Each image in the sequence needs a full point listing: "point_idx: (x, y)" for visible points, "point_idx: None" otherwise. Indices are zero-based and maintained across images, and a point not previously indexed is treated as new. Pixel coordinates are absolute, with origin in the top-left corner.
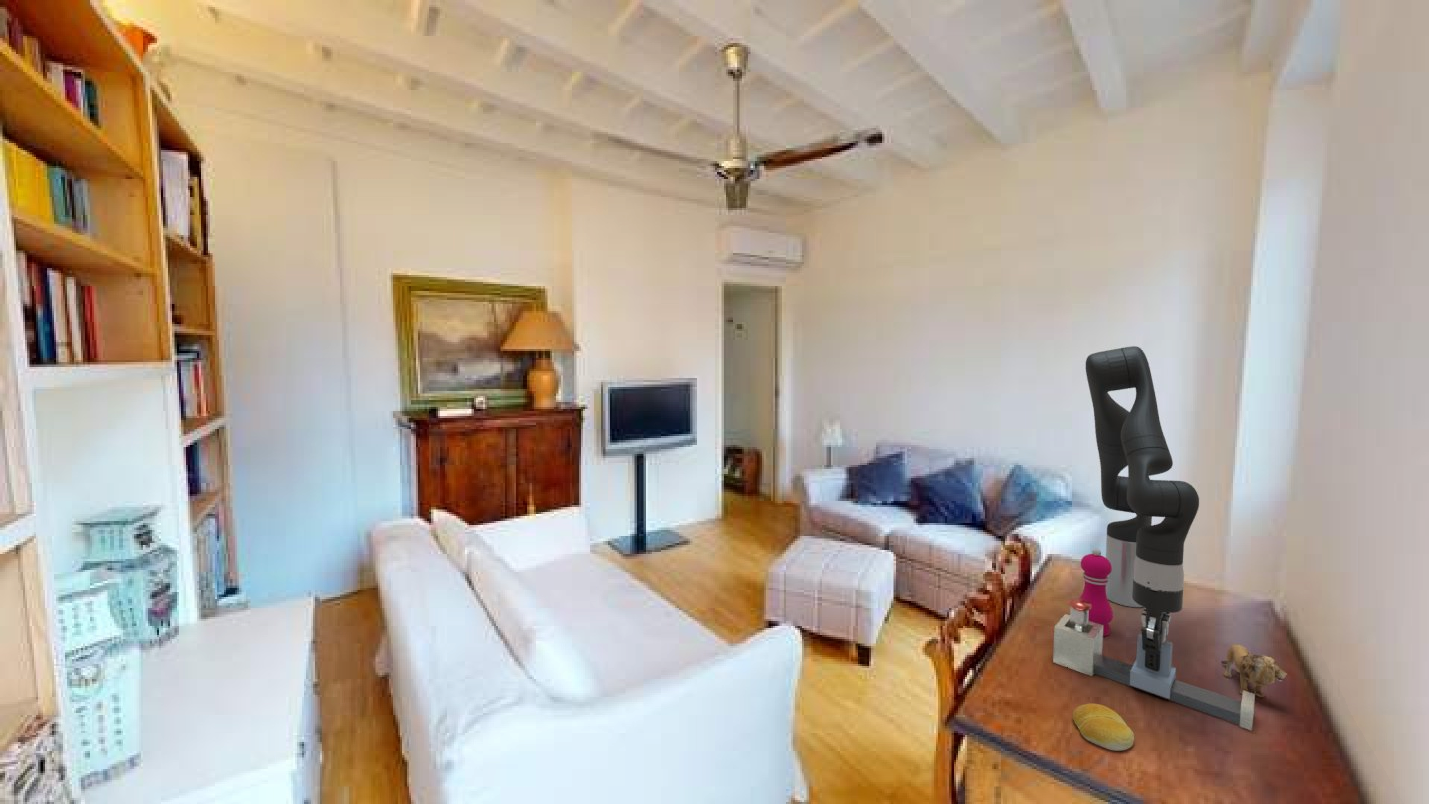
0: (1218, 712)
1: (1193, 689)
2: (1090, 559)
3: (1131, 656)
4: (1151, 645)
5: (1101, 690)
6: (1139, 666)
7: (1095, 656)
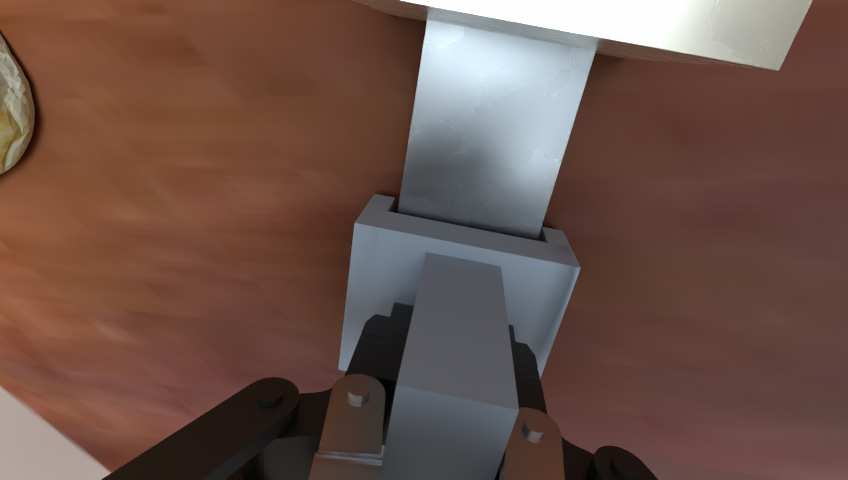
0: None
1: None
2: None
3: (762, 208)
4: (290, 458)
5: (272, 67)
6: (422, 269)
7: (443, 20)
